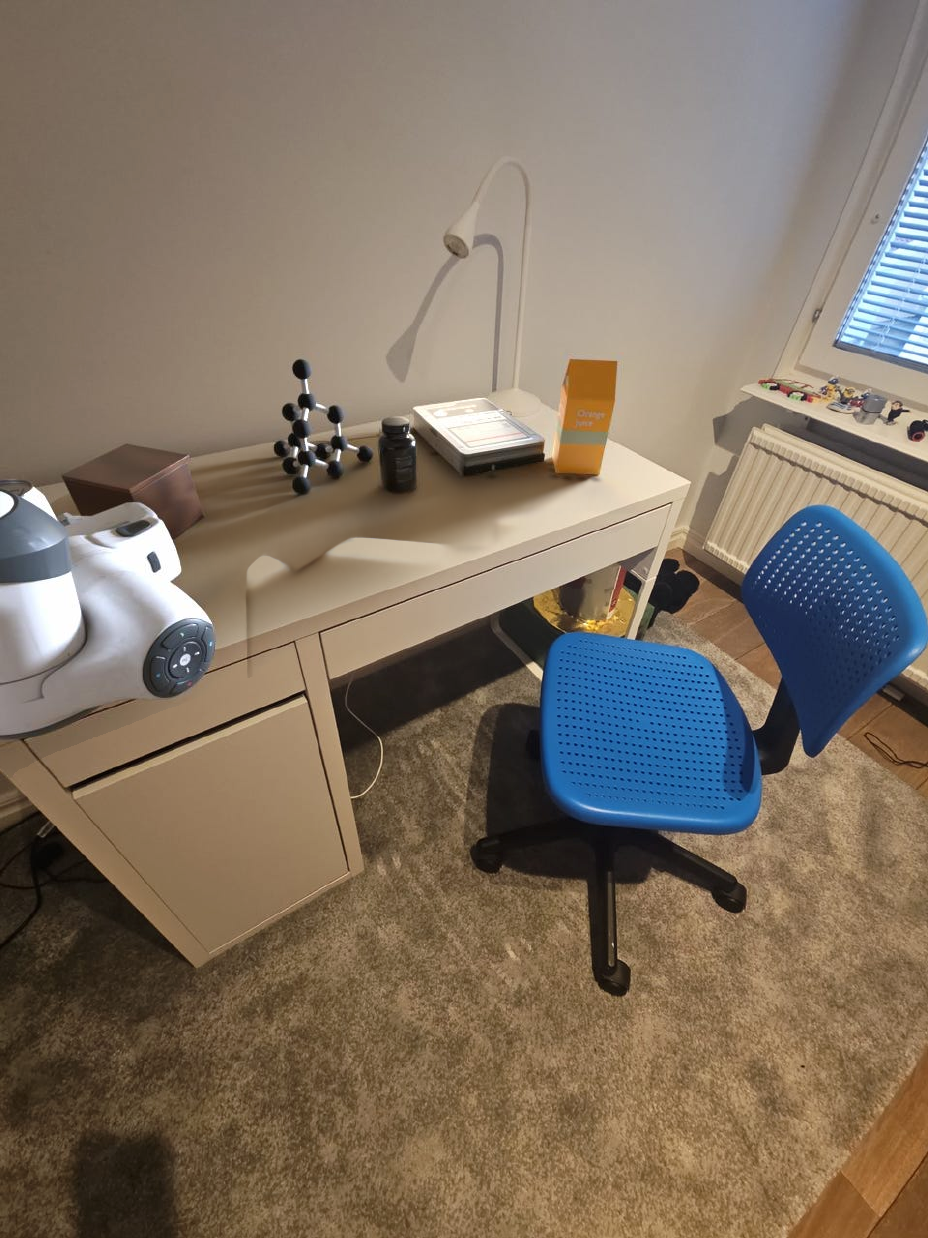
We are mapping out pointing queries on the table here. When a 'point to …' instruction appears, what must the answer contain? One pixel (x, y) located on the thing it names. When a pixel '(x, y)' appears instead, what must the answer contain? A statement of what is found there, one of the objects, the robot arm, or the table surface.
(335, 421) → the molecular model
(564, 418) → the orange juice
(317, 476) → the table surface
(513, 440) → the hard drive
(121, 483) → the lid
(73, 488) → the box
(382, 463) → the supplement bottle
